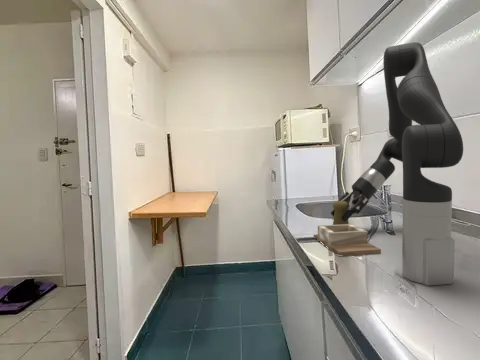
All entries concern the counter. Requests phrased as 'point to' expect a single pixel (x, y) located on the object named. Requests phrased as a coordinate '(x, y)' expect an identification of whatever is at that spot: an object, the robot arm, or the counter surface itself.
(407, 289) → the counter surface
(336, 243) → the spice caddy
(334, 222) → the cork
